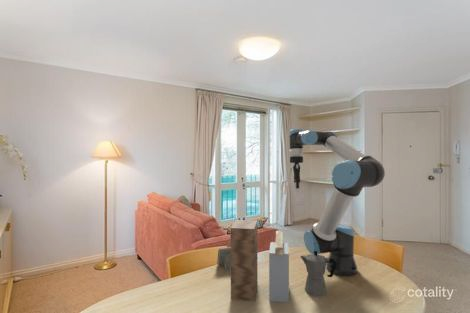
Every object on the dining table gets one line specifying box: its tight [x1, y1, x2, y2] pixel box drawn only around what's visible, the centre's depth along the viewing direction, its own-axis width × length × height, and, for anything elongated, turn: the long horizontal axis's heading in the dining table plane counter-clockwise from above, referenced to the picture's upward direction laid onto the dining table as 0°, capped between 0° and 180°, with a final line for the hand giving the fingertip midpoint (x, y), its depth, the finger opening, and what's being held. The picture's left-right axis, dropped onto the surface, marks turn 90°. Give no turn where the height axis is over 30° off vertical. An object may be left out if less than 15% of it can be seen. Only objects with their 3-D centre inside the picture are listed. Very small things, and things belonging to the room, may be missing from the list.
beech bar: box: [275, 230, 284, 255], centre depth 124 cm, size 3×24×3 cm, turn 170°
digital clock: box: [216, 246, 231, 270], centre depth 150 cm, size 16×9×11 cm, turn 93°
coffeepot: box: [300, 251, 337, 298], centre depth 121 cm, size 15×9×18 cm, turn 69°
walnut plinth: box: [230, 219, 259, 302], centre depth 122 cm, size 10×14×30 cm
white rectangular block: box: [268, 241, 290, 303], centre depth 120 cm, size 8×14×20 cm, turn 170°
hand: (296, 192), depth 160 cm, fingers open, 13 cm apart
